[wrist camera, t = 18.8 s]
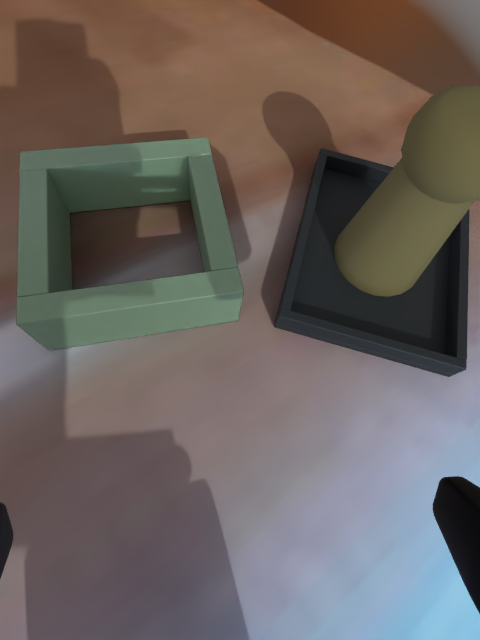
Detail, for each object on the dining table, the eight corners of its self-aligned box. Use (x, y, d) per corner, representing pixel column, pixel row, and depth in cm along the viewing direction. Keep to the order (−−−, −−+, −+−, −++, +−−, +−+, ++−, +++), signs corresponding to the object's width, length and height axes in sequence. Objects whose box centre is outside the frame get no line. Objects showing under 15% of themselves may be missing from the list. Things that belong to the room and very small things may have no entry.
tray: (449, 377, 23) (466, 369, 21) (273, 327, 23) (278, 316, 22) (455, 203, 28) (470, 187, 27) (314, 165, 29) (321, 147, 27)
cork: (326, 222, 26) (402, 60, 16) (406, 219, 27) (528, 63, 17) (344, 299, 24) (446, 166, 14) (431, 294, 24) (590, 164, 14)
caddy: (238, 321, 23) (244, 291, 19) (48, 351, 21) (15, 324, 18) (207, 182, 27) (207, 136, 24) (46, 198, 25) (19, 151, 22)
